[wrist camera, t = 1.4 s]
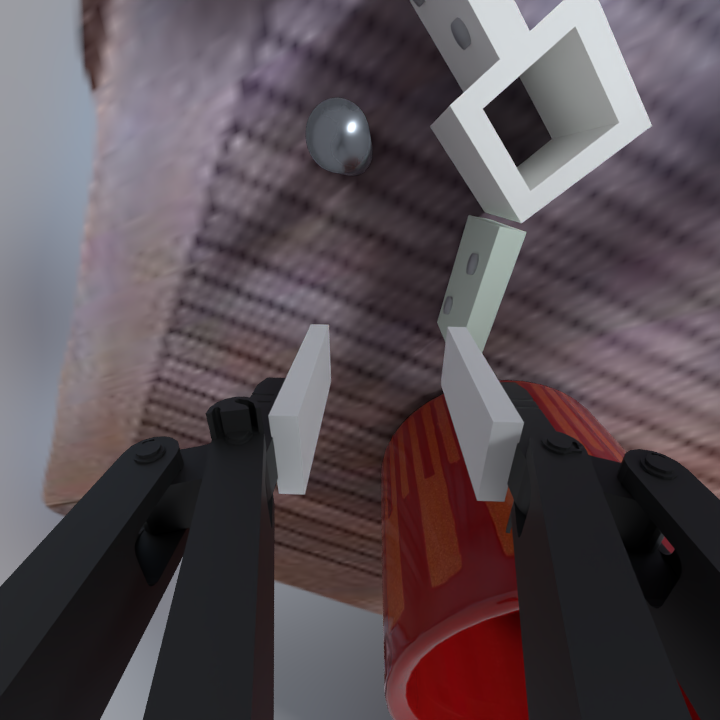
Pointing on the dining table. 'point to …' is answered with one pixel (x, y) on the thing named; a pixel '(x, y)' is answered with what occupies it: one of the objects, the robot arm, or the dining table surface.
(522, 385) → the planter
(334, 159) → the pin
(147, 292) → the dining table surface
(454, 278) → the loose leaf
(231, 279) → the dining table surface
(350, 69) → the dining table surface
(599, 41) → the fixed hinge
